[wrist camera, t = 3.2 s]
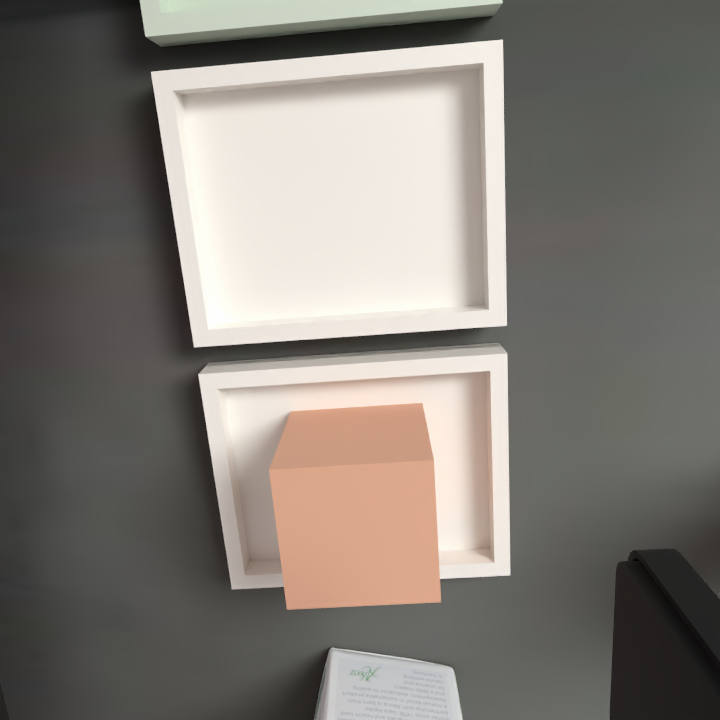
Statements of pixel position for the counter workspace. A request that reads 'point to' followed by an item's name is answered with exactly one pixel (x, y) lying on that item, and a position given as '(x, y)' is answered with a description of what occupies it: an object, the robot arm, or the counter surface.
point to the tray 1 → (291, 17)
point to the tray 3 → (359, 389)
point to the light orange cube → (356, 507)
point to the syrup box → (385, 688)
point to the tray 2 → (339, 193)
